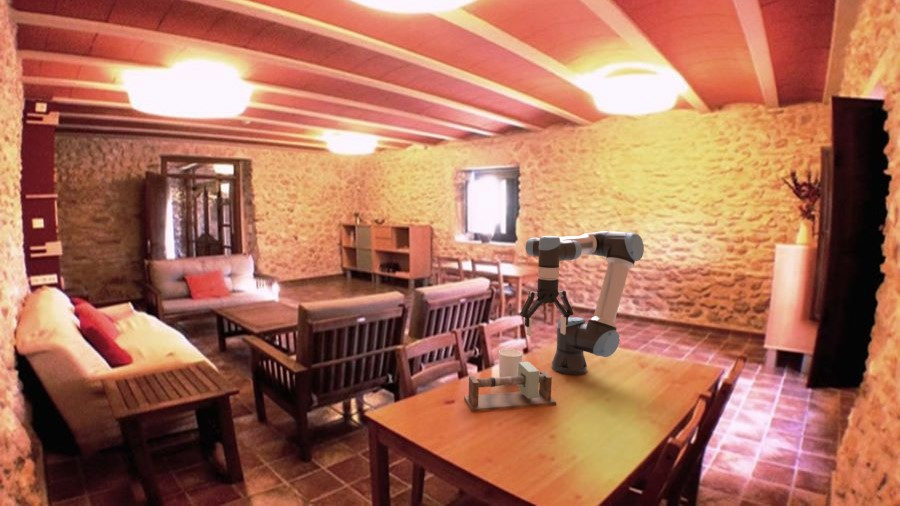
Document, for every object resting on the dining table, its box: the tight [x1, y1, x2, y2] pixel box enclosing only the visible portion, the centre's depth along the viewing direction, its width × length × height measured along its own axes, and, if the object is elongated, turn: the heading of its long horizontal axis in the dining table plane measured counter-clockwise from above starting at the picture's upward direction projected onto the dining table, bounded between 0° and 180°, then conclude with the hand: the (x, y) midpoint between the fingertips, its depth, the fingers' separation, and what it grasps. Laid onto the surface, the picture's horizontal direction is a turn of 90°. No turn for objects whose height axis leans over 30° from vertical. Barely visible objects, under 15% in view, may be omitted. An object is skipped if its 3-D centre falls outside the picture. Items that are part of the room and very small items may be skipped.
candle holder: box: [498, 348, 524, 377], centre depth 185 cm, size 10×10×12 cm
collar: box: [517, 361, 540, 398], centre depth 166 cm, size 4×10×10 cm, turn 13°
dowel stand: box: [463, 370, 557, 413], centre depth 165 cm, size 32×11×10 cm, turn 103°
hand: (546, 334), depth 166 cm, fingers open, 13 cm apart
